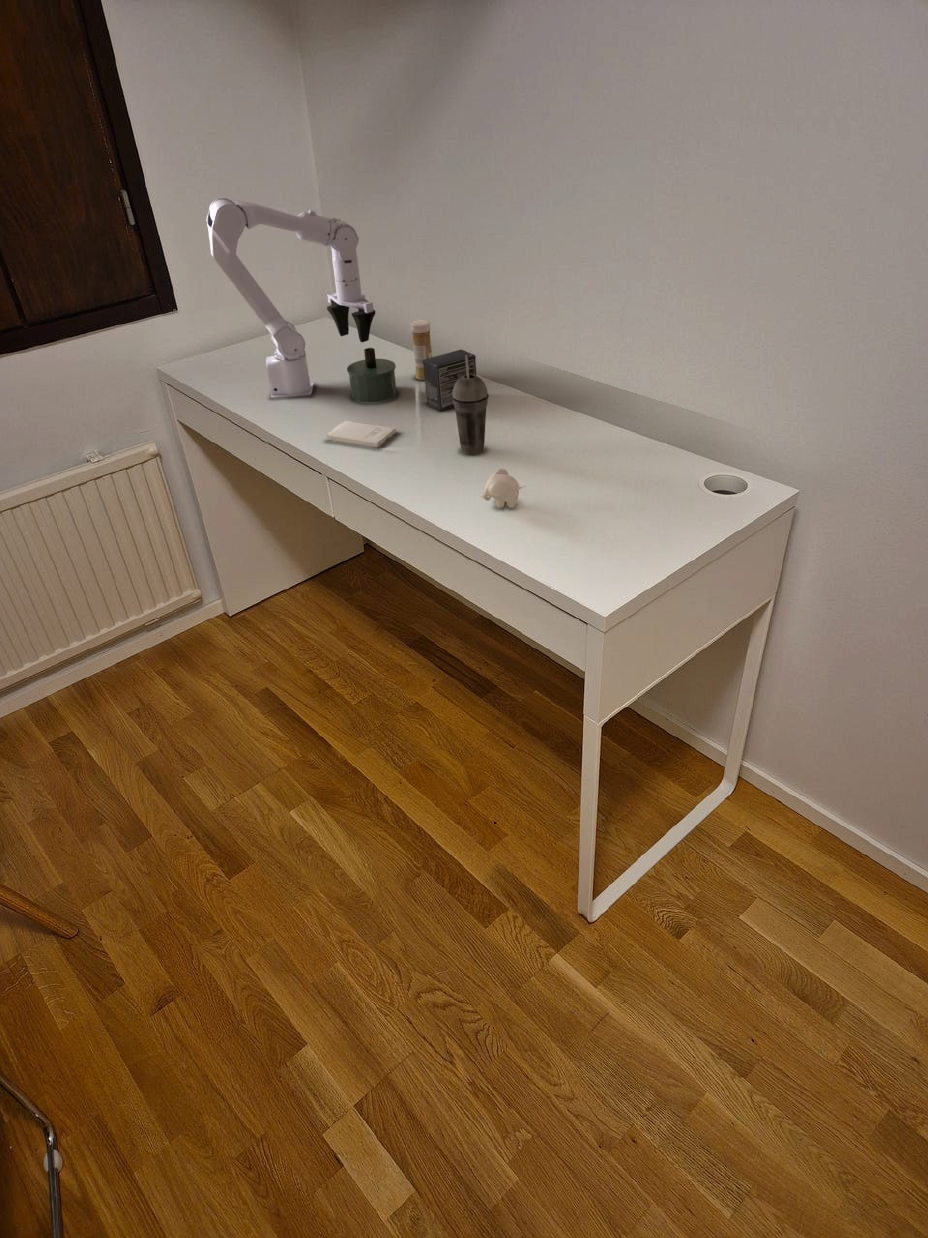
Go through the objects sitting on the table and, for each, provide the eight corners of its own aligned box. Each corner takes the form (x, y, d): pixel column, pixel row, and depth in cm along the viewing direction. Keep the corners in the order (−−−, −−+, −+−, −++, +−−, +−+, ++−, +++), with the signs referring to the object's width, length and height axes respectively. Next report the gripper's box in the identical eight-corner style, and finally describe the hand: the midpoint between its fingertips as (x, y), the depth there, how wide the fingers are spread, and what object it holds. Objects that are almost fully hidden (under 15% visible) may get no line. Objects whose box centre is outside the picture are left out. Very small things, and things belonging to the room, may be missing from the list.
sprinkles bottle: (437, 377, 211) (434, 321, 203) (423, 382, 209) (419, 326, 201) (425, 373, 214) (421, 317, 206) (411, 378, 211) (406, 322, 204)
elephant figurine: (482, 495, 159) (481, 466, 156) (526, 495, 158) (526, 466, 155) (479, 513, 154) (478, 483, 150) (524, 513, 153) (524, 483, 149)
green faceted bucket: (351, 405, 198) (347, 378, 195) (353, 389, 207) (350, 362, 203) (396, 402, 199) (393, 375, 195) (396, 386, 207) (394, 359, 203)
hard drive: (346, 427, 188) (396, 434, 184) (326, 441, 183) (377, 449, 178) (345, 419, 188) (395, 427, 183) (325, 434, 182) (377, 442, 177)
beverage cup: (495, 444, 177) (492, 347, 166) (484, 459, 172) (480, 360, 160) (461, 441, 179) (456, 345, 168) (449, 456, 174) (443, 358, 162)
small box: (463, 392, 202) (461, 347, 196) (479, 400, 197) (477, 354, 191) (425, 403, 197) (421, 358, 191) (440, 411, 193) (437, 365, 187)
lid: (346, 381, 195) (343, 359, 192) (348, 364, 204) (345, 343, 201) (395, 378, 195) (393, 355, 192) (395, 361, 204) (394, 340, 201)
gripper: (381, 279, 196) (386, 339, 204) (341, 270, 204) (348, 328, 212) (357, 286, 192) (363, 347, 200) (317, 276, 200) (325, 335, 208)
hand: (354, 338), depth 206 cm, fingers open, 7 cm apart
